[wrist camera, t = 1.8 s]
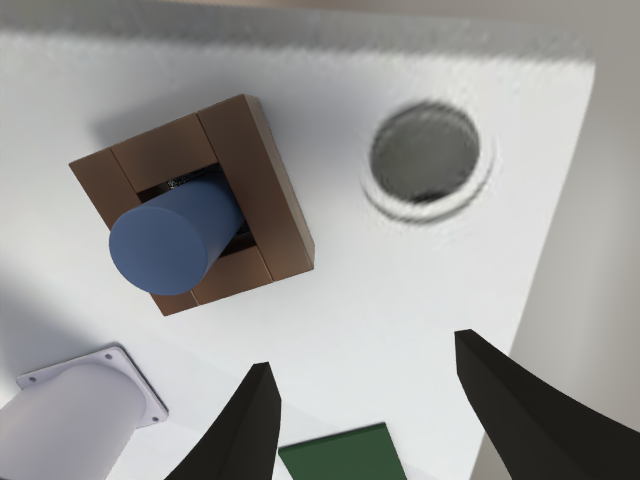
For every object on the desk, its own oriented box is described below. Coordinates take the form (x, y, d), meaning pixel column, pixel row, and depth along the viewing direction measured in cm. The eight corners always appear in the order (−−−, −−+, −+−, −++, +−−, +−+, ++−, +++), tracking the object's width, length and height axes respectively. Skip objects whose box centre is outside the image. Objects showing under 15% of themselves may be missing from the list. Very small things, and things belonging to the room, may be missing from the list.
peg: (204, 240, 21) (141, 307, 14) (175, 184, 20) (88, 225, 12) (258, 221, 21) (224, 280, 13) (233, 163, 19) (177, 192, 12)
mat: (315, 513, 32) (315, 518, 32) (278, 449, 29) (277, 453, 28) (412, 492, 31) (413, 497, 30) (385, 423, 27) (386, 427, 27)
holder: (186, 288, 23) (164, 317, 19) (109, 155, 19) (66, 163, 16) (315, 246, 21) (314, 269, 18) (257, 97, 18) (243, 93, 15)
